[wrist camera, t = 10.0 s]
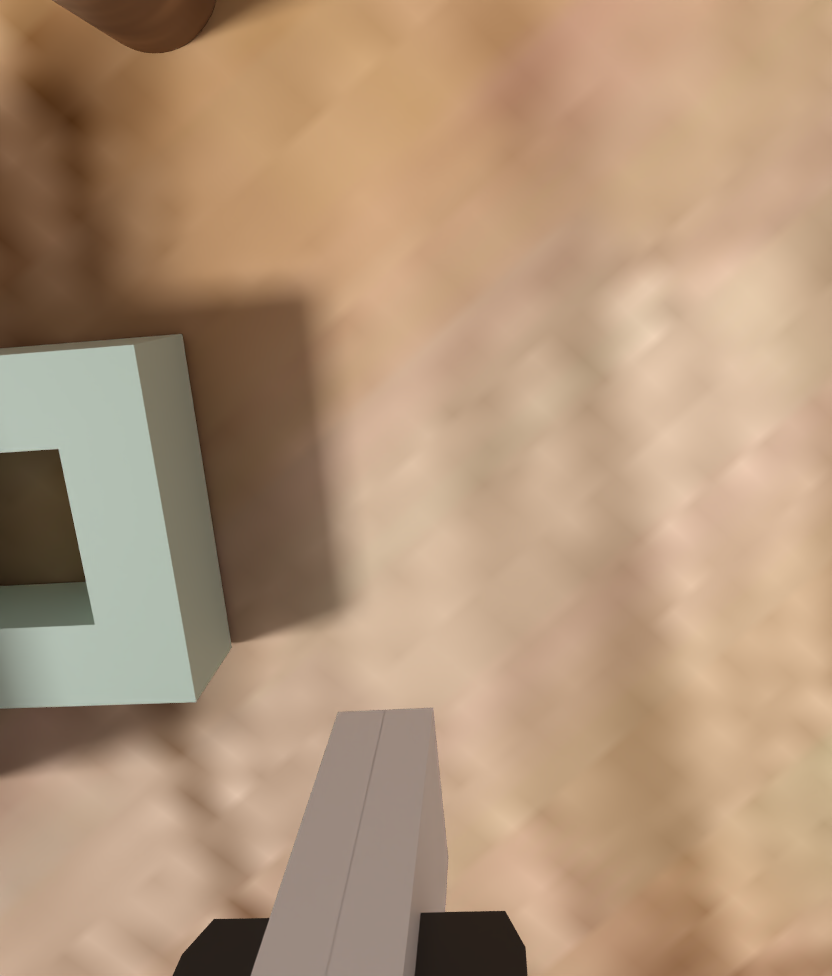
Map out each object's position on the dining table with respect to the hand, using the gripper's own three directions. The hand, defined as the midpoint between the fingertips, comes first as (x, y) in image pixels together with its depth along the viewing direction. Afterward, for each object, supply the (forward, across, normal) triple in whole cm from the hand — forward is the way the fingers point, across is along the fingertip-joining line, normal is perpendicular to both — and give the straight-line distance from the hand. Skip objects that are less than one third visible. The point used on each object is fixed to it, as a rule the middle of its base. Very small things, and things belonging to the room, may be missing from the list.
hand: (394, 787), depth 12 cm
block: (+17, +15, -1) cm, 22 cm away
